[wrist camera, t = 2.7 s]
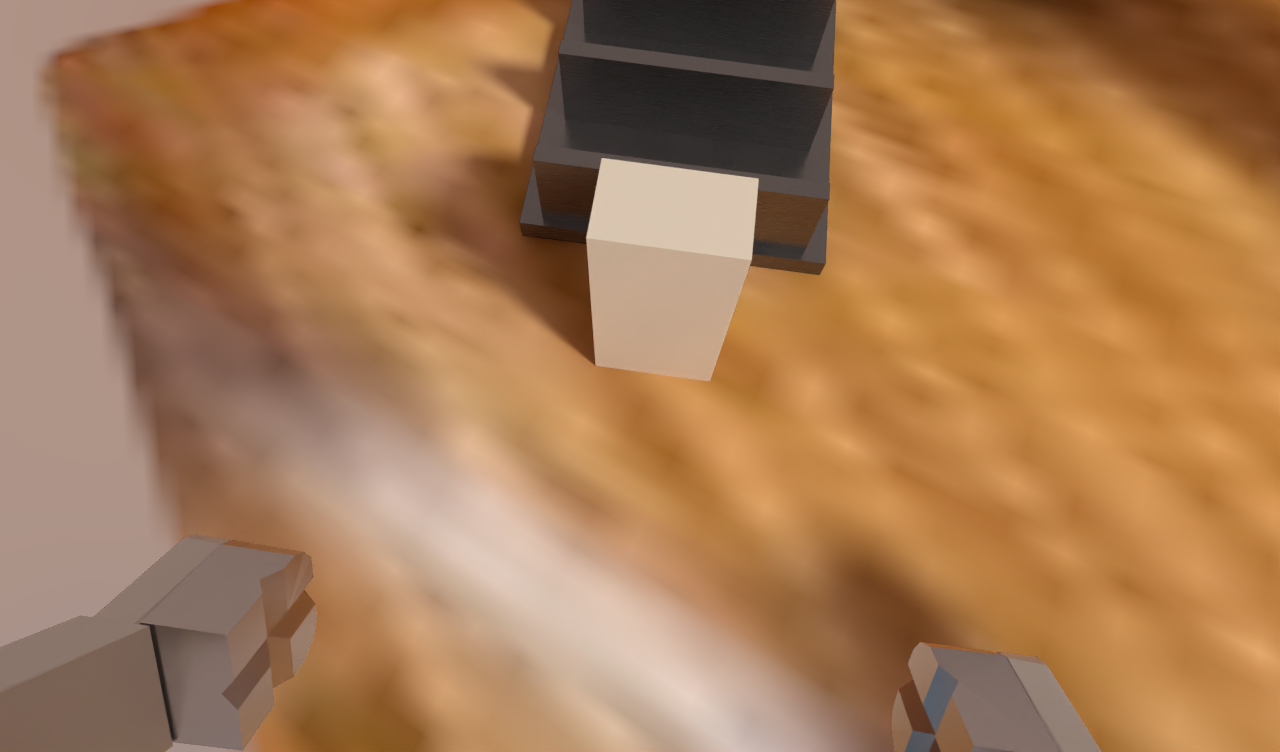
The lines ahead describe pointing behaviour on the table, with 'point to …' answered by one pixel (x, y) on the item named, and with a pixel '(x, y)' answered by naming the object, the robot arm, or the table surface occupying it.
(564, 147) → the dish rack
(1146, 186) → the table surface
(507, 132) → the table surface
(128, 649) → the robot arm
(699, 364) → the tall cream block
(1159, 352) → the table surface
